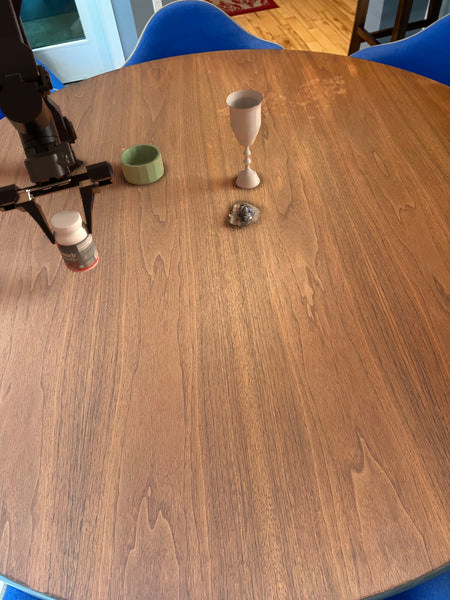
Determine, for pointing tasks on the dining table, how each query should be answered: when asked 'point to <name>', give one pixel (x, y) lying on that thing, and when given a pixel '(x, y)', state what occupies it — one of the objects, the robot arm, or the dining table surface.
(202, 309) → the dining table surface
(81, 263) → the pill bottle
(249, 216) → the grey flat irregular piece
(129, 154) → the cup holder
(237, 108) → the chalice
